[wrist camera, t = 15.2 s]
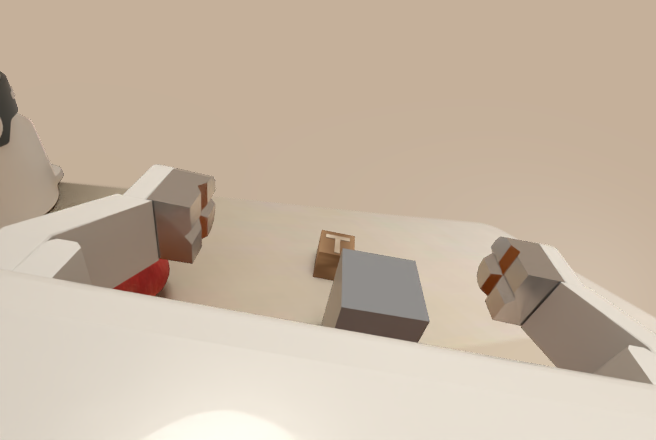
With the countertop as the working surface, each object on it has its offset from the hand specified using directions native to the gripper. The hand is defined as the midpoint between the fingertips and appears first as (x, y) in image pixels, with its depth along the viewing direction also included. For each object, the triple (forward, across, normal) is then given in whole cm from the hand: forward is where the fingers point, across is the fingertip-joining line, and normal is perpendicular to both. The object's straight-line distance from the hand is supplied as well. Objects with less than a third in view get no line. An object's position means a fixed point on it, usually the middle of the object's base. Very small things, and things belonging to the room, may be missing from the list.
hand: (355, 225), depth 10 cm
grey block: (+11, -6, +23) cm, 26 cm away
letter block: (+22, -3, +23) cm, 32 cm away
